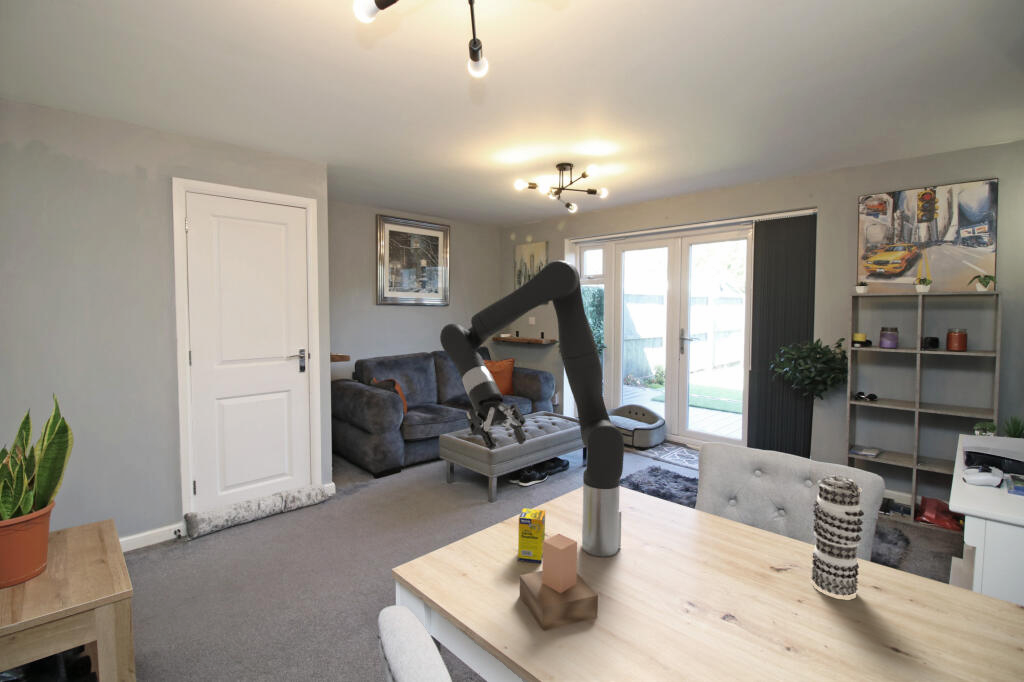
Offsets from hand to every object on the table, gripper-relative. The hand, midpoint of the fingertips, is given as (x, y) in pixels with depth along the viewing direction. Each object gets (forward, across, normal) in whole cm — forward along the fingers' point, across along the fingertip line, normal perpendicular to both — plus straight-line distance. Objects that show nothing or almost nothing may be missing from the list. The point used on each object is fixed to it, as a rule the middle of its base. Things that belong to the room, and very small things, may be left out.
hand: (508, 445), depth 111 cm
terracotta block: (+30, +1, +6) cm, 31 cm away
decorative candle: (+56, +54, -14) cm, 79 cm away
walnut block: (+34, 0, +9) cm, 35 cm away
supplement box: (+20, +9, +23) cm, 32 cm away
